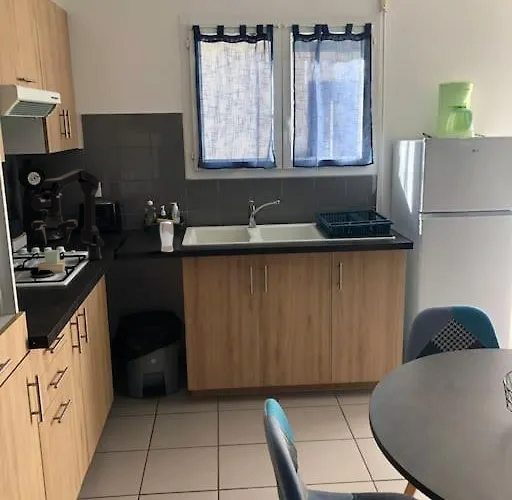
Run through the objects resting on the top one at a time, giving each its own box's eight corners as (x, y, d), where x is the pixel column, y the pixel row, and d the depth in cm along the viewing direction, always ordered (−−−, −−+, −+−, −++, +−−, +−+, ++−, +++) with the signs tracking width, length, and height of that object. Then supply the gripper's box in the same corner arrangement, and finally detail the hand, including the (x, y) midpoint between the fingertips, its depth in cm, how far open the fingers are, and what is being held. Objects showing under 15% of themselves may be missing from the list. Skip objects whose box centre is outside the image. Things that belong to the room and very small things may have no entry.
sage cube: (48, 261, 256) (47, 250, 255) (59, 261, 257) (59, 250, 256) (45, 263, 251) (44, 252, 250) (57, 263, 252) (56, 252, 251)
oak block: (42, 269, 258) (41, 260, 258) (65, 268, 260) (65, 259, 260) (38, 274, 249) (38, 265, 248) (63, 273, 251) (62, 264, 250)
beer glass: (164, 249, 304) (163, 221, 301) (176, 250, 302) (175, 221, 299) (158, 251, 298) (157, 222, 295) (169, 252, 295) (168, 223, 292)
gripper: (26, 211, 243) (30, 247, 246) (72, 210, 245) (75, 246, 248) (33, 208, 253) (36, 243, 256) (76, 206, 256) (79, 241, 259)
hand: (56, 243), depth 255 cm, fingers open, 9 cm apart
